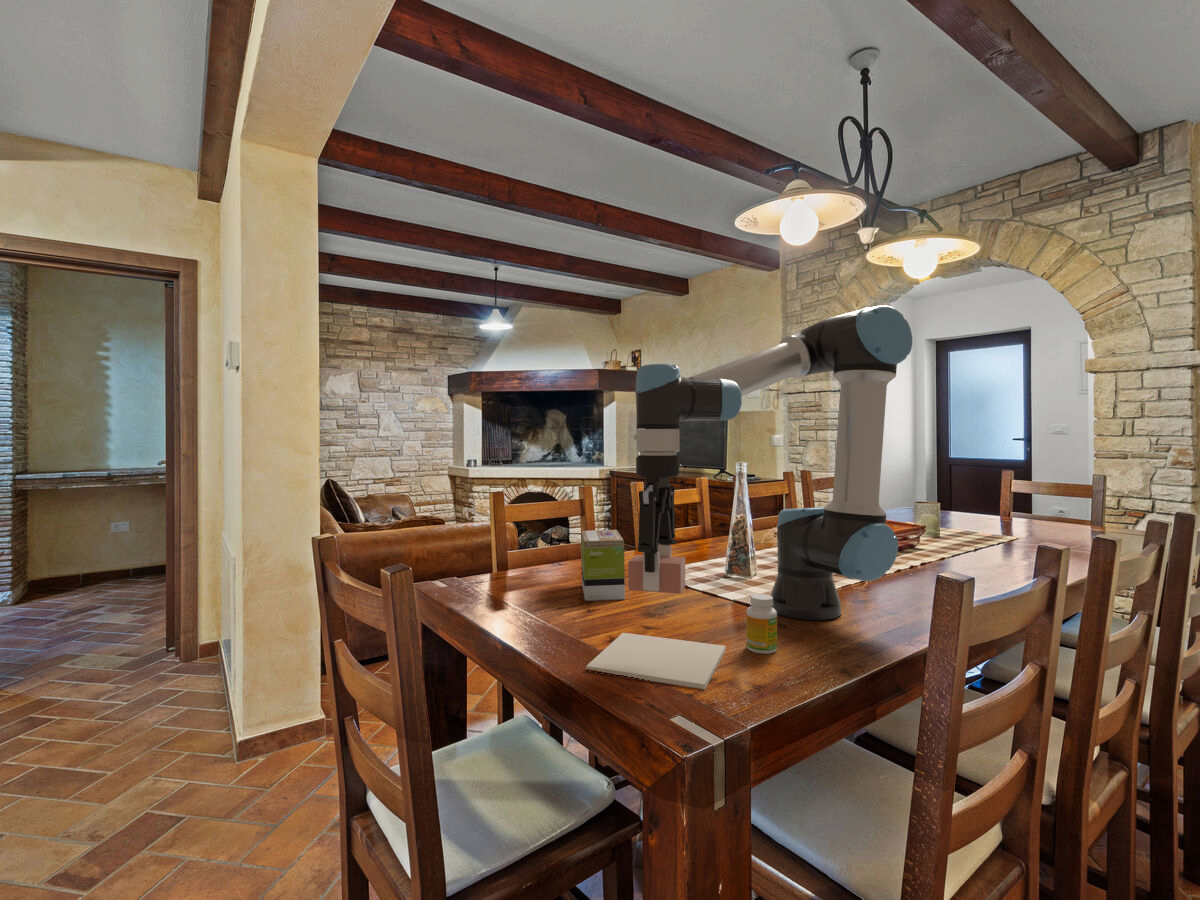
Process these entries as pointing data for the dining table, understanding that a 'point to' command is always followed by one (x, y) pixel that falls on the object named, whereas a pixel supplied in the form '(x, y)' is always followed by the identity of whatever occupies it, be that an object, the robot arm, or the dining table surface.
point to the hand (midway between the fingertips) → (657, 585)
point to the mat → (660, 660)
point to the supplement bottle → (761, 625)
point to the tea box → (602, 565)
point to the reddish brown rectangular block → (669, 574)
